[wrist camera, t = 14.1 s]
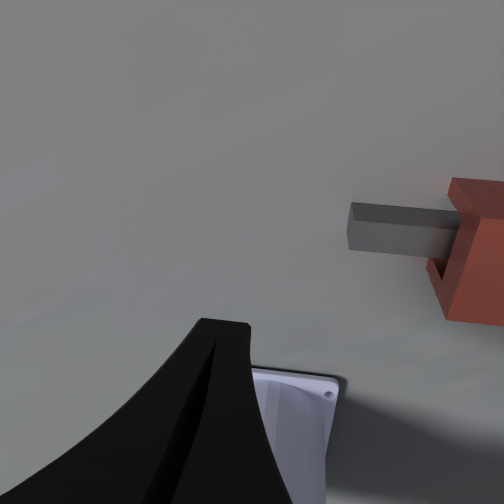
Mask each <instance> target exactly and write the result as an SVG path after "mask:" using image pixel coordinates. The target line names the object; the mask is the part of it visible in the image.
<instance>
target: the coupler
mask: <svg viewBox="0 0 504 504" xmlns="http://www.w3.org/2000/svg"><path fill="white" fill-rule="evenodd" d="M461 219H462V217H461V216H460V214H459V213H458V212H453V211H442V210H430V209H419V208H408V207H396V206H385V205H374V204H362V203H351V208H350V214H349V220H348V225H347V237H348V245H349V250H358V251H368V252H379V253H389V254H399V255H410V256H420V257H430V258H440V259H449V257H450V254H451V251H452V248H453V245H454V241H455V238H456V235H457V232H458V229H459V226H460V222H461Z"/></svg>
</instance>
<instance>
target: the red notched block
mask: <svg viewBox="0 0 504 504" xmlns="http://www.w3.org/2000/svg"><path fill="white" fill-rule="evenodd" d="M447 195H448V197H449V198H450V200H451V201H452V203H453V205H454V206H455V208H456V209H457V211H458V213H459V214H460V216H461V217H462V219H461V222H460V226H459V229H458V232H457V235H456V238H455V241H454V245H453V248H452V251H451V254H450V257H449V259H440V258H430V257H429V260H428V263H427V267H426V269H427V272H428V274H429V277H430V280H431V282H432V285H433V287H434V290H435V292H436V295H437V298H438V300H439V303H440V305H441V308H442V310H443V313H444V316H445V318H446V320H451V321H460V322H469V323H479V324H488V325H497V326H504V182H502V181H490V180H478V179H466V178H453V177H452V181H451V184H450V187H449V191H448V194H447Z"/></svg>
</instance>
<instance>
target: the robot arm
mask: <svg viewBox="0 0 504 504" xmlns="http://www.w3.org/2000/svg"><path fill="white" fill-rule="evenodd" d="M250 342H251V326H250V325H249V324H248V323H243V322H234V321H225V320H217V319H208V318H201V319H200V320H198V321H197V323H196V324H195V325H194V327H193V328H192V329H191V331H190V332H189V334H188V335H187V336H186V337H185V339H184V340H183V341H182V343H181V344H180V345H179V346H178V347H177V349H176V350H175V351H174V352H173V353H172V355H171V356H170V357H169V358H168V359H167V360H166V361H165V363H164V364H163V365H162V366H161V367H160V368H159V369H158V371H157V372H156V373H155V374H154V375H153V376H152V377H151V378H150V379H149V380H148V381H147V382H146V383H145V384H144V385H143V386H142V387H141V388H140V389H139V390H138V391H137V392H136V393H135V394H134V395H133V396H132V397H131V398H130V399H129V400H128V401H127V402H126V403H125V404H124V405H123V406H122V407H121V408H120V409H118V410H117V411H116V412H115V413H114V414H113V415H112V416H111V417H109V418H108V419H107V420H106V421H105V422H104V423H102V424H101V425H100V426H99V427H98V428H96V429H95V430H94V431H93V432H91V433H90V434H89V435H88V436H86V437H85V438H84V439H83V440H81V441H80V442H79V443H78V444H76V445H75V446H74V447H72V448H71V449H70V450H68V451H67V452H66V453H64V454H63V455H61V456H60V457H59V458H57V459H56V460H54V461H53V462H51V463H50V464H48V465H47V466H45V467H44V468H43V469H41V470H40V471H38V472H37V473H35V474H34V475H32V476H31V477H29V478H28V479H26V480H25V481H23V482H22V483H20V484H19V485H17V486H16V487H14V488H12V489H11V490H9V491H8V492H6V493H4V494H3V495H1V496H0V504H326V477H325V456H326V451H327V446H328V441H329V436H330V431H331V426H332V422H333V417H334V412H335V407H336V402H337V397H338V392H339V382H338V381H337V380H336V379H335V378H331V377H322V376H314V375H306V374H298V373H289V372H281V371H273V370H265V369H257V368H251V361H250ZM327 391H330V392H327Z"/></svg>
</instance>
